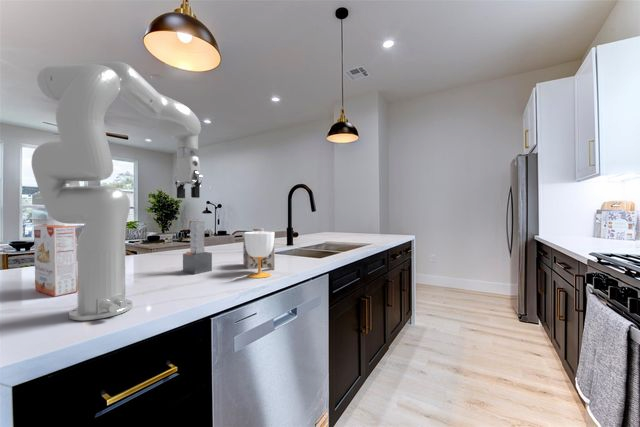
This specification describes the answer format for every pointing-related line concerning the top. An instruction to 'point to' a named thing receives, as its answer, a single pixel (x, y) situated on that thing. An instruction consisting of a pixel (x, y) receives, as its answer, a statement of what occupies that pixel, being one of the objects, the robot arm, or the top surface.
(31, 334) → the top surface
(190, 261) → the stand base
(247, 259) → the decorative jar
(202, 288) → the top surface
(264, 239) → the cup
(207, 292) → the top surface
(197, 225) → the column
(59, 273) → the cracker box
